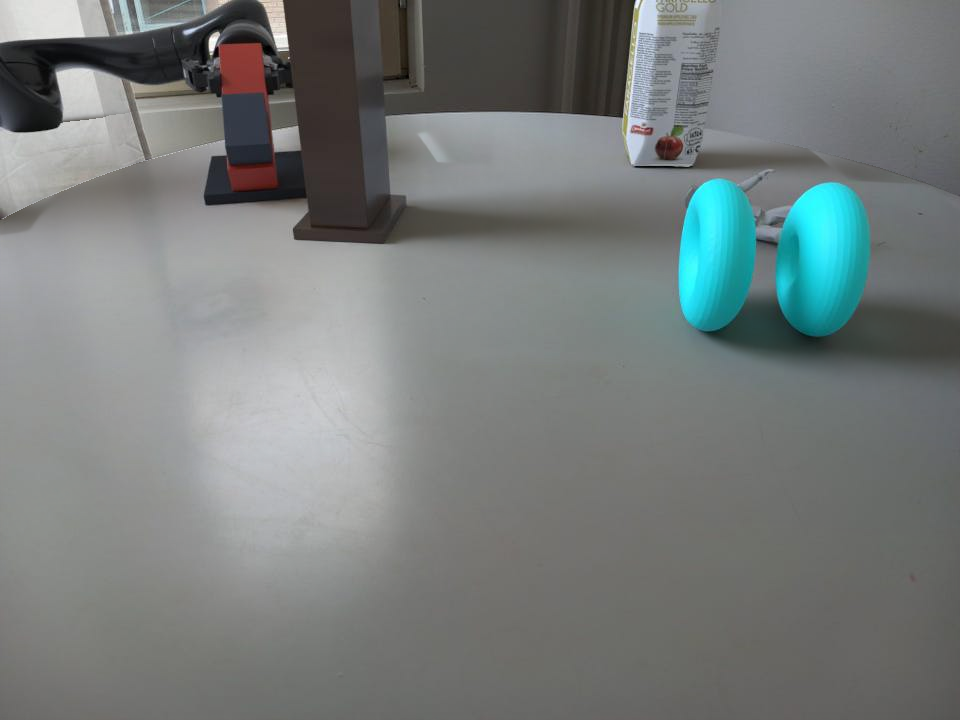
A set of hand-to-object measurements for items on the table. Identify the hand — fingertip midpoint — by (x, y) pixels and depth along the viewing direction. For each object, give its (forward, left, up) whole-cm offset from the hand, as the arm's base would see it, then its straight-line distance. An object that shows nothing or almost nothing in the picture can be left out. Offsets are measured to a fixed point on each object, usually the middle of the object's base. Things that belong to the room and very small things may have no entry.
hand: (244, 85), depth 76 cm
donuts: (+23, -50, -9) cm, 56 cm away
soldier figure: (+35, -38, -9) cm, 53 cm away
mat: (0, -2, -9) cm, 10 cm away
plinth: (+5, -18, -9) cm, 21 cm away
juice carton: (+43, -15, -9) cm, 46 cm away
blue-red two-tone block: (0, -1, -4) cm, 4 cm away
